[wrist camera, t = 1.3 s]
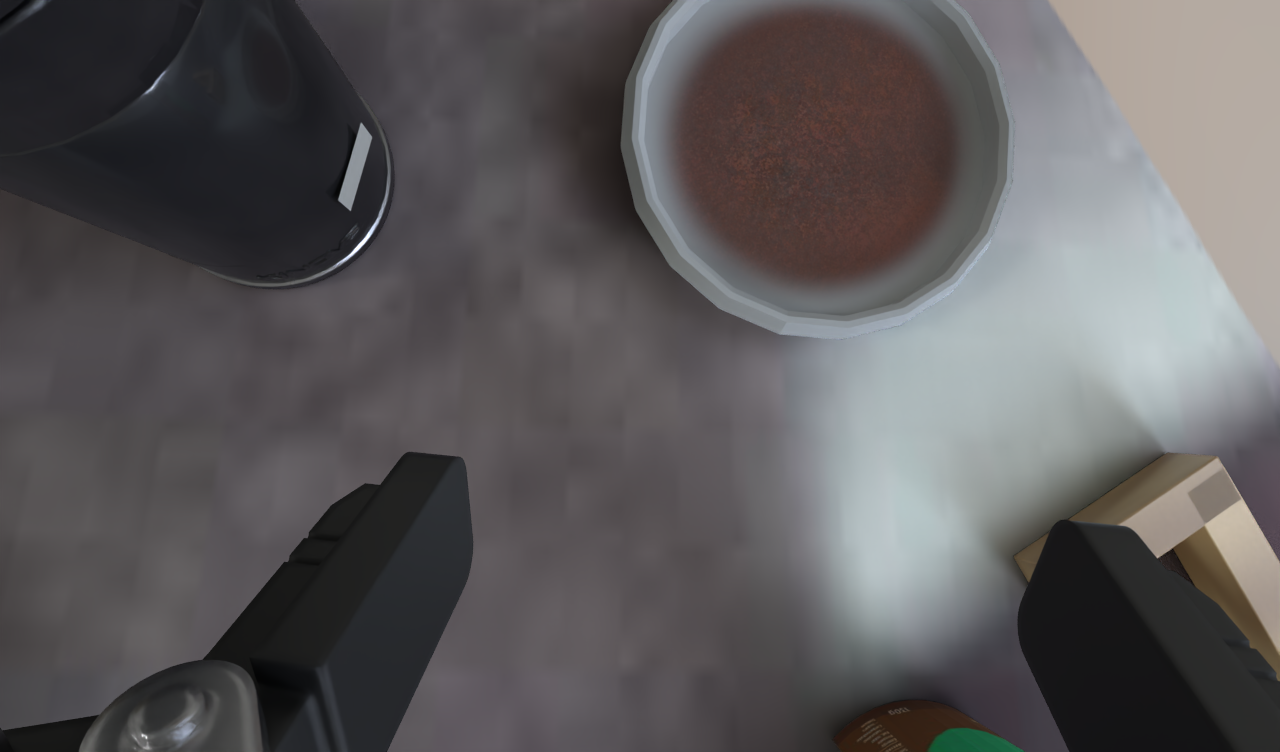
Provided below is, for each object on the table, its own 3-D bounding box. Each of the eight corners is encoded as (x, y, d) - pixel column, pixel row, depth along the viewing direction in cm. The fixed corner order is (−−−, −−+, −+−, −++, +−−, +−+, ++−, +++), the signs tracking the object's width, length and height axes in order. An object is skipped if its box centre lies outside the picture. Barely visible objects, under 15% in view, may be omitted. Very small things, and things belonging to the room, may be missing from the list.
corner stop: (1011, 556, 30) (1051, 568, 28) (1167, 451, 31) (1218, 455, 29) (1141, 777, 30) (1192, 809, 28) (1292, 665, 31) (1354, 687, 29)
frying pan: (826, -354, 29) (1092, 245, 28) (804, -283, 32) (1044, 261, 31) (449, -243, 27) (722, 403, 26) (461, -178, 30) (708, 405, 29)
